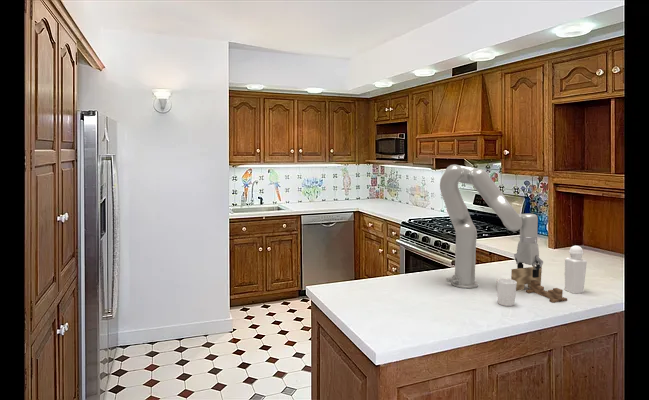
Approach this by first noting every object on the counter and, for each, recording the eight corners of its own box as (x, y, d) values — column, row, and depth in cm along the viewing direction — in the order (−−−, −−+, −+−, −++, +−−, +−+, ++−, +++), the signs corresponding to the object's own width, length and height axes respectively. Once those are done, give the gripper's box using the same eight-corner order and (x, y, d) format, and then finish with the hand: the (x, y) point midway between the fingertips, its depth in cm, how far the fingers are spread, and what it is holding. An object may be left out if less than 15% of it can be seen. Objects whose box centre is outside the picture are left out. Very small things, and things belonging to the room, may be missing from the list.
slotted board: (514, 290, 208) (515, 270, 207) (510, 289, 210) (511, 269, 209) (540, 287, 213) (541, 267, 212) (537, 286, 215) (538, 266, 214)
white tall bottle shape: (585, 293, 204) (588, 246, 202) (572, 294, 203) (575, 247, 201) (575, 288, 210) (577, 243, 208) (562, 289, 209) (565, 244, 207)
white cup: (495, 299, 195) (496, 277, 194) (514, 301, 193) (515, 279, 192) (497, 305, 188) (497, 283, 187) (516, 307, 186) (517, 284, 185)
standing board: (567, 300, 194) (567, 289, 193) (553, 302, 191) (553, 291, 191) (538, 290, 209) (539, 279, 208) (525, 291, 206) (525, 281, 206)
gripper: (509, 237, 216) (508, 271, 217) (536, 243, 199) (535, 280, 201) (521, 236, 218) (520, 269, 220) (549, 242, 202) (548, 278, 203)
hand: (527, 274), depth 210 cm, fingers open, 9 cm apart
